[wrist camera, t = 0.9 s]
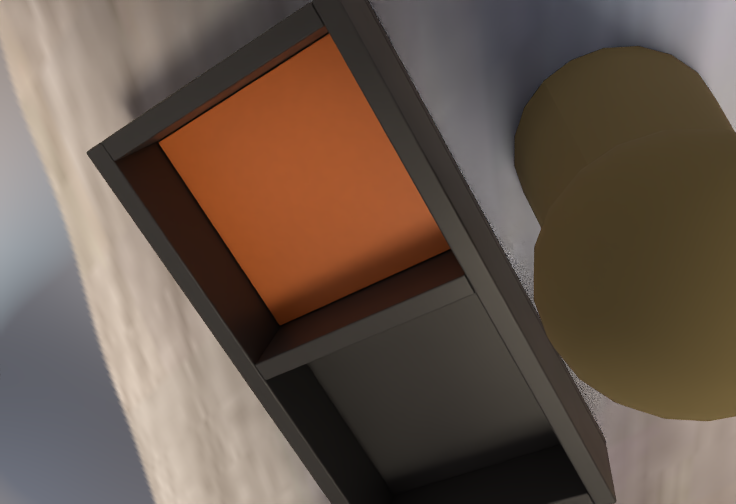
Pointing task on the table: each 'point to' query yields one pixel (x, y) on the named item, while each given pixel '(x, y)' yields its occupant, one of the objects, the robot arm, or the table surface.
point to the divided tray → (355, 273)
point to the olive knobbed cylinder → (635, 230)
